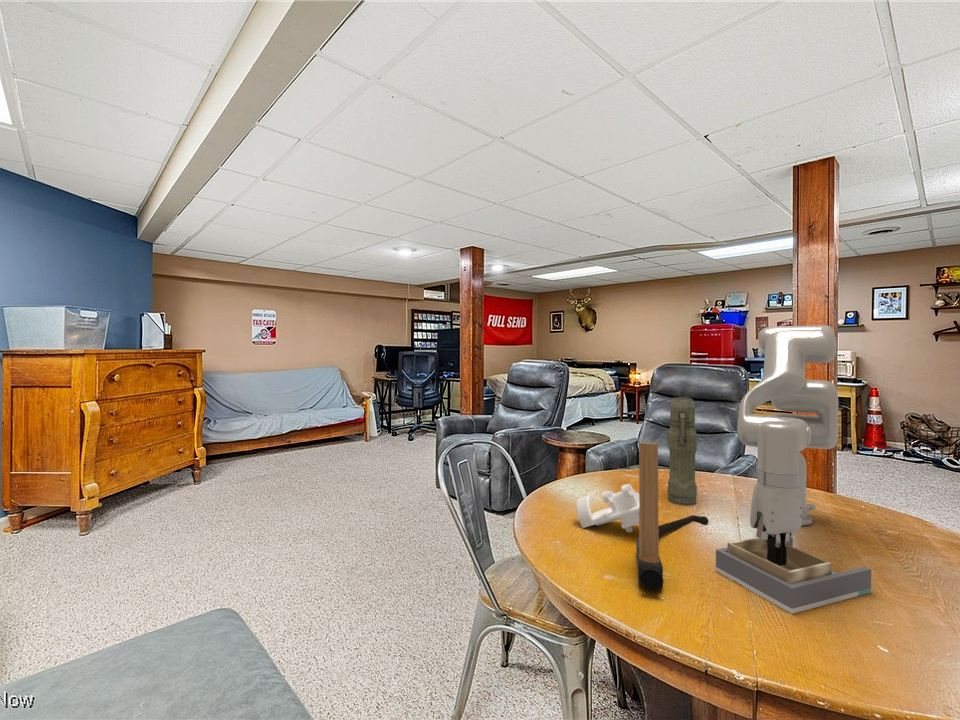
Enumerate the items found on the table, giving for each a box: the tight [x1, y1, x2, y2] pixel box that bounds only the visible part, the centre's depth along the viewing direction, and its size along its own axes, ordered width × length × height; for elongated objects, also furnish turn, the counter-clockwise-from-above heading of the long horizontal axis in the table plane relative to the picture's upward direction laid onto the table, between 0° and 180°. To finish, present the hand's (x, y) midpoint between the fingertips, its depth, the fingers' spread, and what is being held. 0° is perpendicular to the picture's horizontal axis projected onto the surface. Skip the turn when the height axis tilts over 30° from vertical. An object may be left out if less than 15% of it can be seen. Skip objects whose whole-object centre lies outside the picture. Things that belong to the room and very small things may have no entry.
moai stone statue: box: [667, 396, 698, 506], centre depth 152 cm, size 9×12×35 cm
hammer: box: [635, 441, 664, 592], centre depth 105 cm, size 20×5×30 cm, turn 162°
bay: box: [715, 536, 872, 615], centre depth 100 cm, size 23×18×5 cm
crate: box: [726, 537, 833, 584], centre depth 98 cm, size 12×15×6 cm
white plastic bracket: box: [576, 483, 639, 533], centre depth 129 cm, size 20×11×13 cm, turn 54°
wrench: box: [659, 514, 710, 538], centre depth 125 cm, size 5×5×30 cm
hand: (776, 562), depth 98 cm, fingers closed
